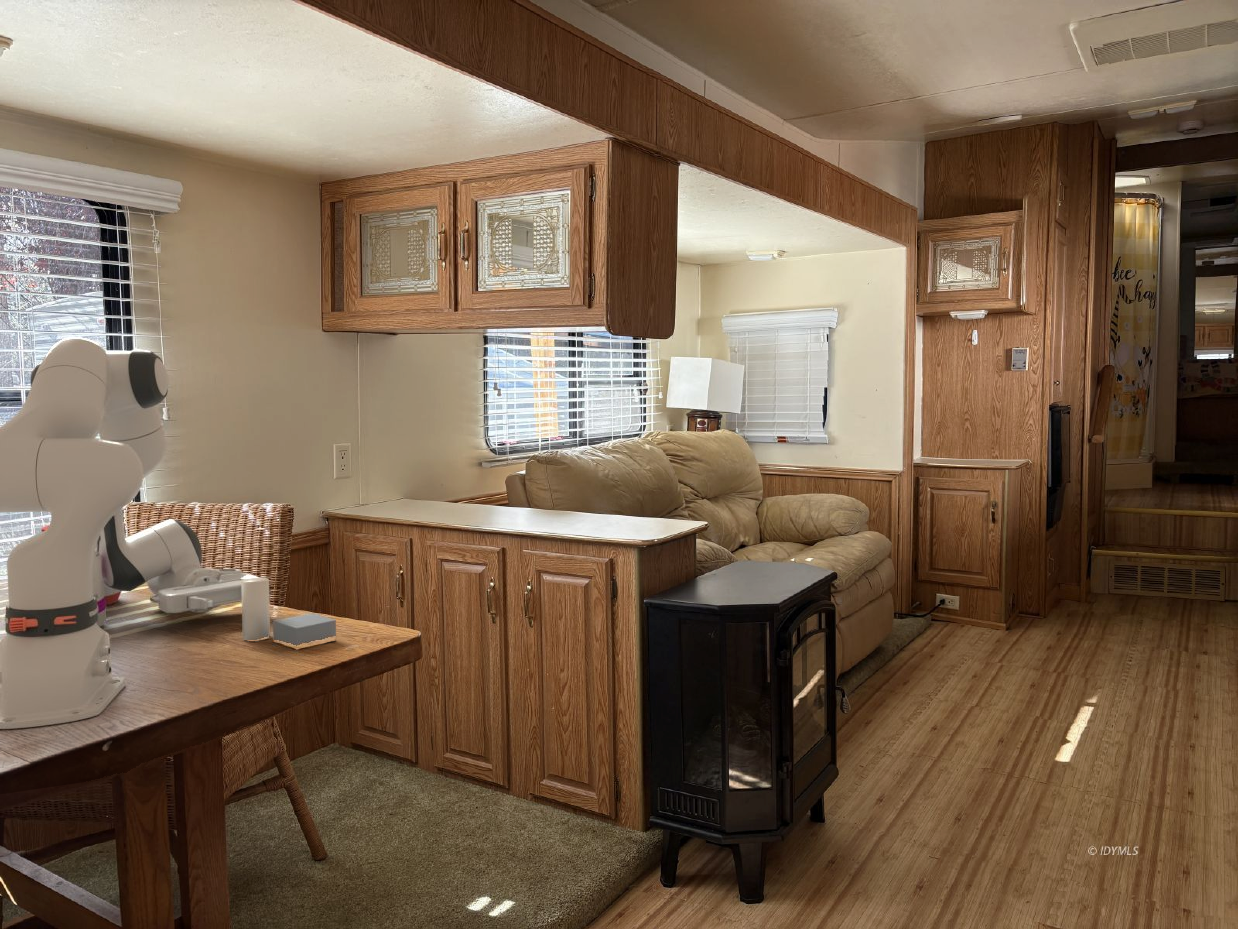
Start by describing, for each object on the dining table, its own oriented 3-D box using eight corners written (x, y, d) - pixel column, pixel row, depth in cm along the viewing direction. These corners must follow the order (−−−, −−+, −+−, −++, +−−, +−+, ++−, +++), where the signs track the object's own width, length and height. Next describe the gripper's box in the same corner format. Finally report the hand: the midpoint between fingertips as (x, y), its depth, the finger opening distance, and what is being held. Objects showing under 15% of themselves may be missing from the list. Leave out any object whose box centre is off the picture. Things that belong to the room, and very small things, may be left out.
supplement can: (91, 613, 186) (84, 541, 183) (116, 623, 182) (109, 550, 179) (49, 627, 179) (41, 552, 176) (74, 637, 175) (66, 561, 172)
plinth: (336, 641, 174) (335, 620, 173) (296, 650, 168) (296, 628, 167) (312, 633, 179) (311, 613, 179) (273, 642, 173) (273, 620, 172)
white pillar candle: (271, 640, 174) (269, 581, 173) (243, 642, 172) (242, 583, 171) (269, 633, 179) (267, 576, 178) (241, 636, 177) (240, 578, 176)
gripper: (145, 582, 181) (178, 592, 172) (245, 567, 197) (280, 576, 188) (146, 614, 181) (179, 626, 173) (246, 597, 197) (281, 607, 188)
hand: (232, 600), depth 180 cm, fingers open, 8 cm apart
